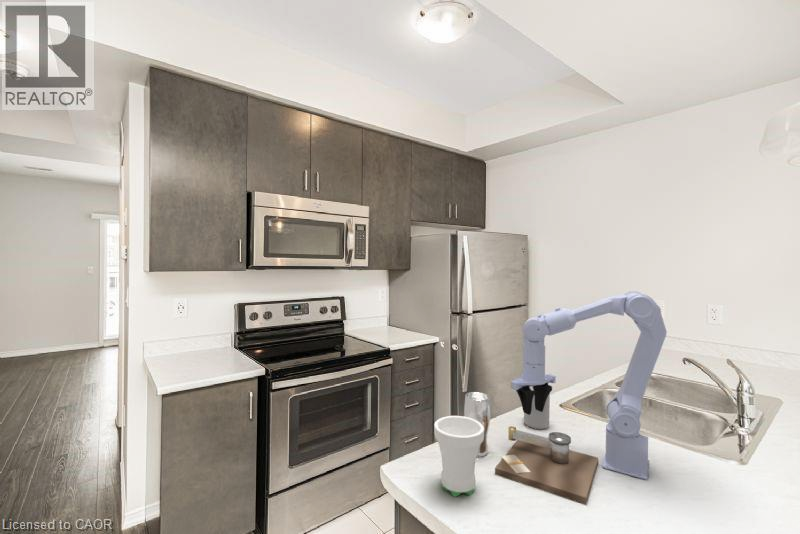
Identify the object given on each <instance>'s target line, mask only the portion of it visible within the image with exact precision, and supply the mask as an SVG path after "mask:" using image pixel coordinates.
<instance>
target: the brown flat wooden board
mask: <svg viewBox="0 0 800 534" xmlns="http://www.w3.org/2000/svg"><path fill="white" fill-rule="evenodd" d="M500 458H501V460H500V461H499V462H498V464H497V465H496V467H495V468H494V475H496V476H500V477H502V478H506V479H508V480H512V481H515V482H517V483H520V484H523V485H526V486H530V487H532V488H535V489H538V490H541V491H544V492H546V493H550V494H553V495H556V496H558V497H562V498H565V499H567V500H571V501H573V502H576V503H579V504H583V505H585V506H587V503H588V500H589V496H590V493H591V490H592V487H593V486H592V485H593V483H594V479H595V476H596V472H597V469H598V465H599V457H598V456H594V455H591V454H587V453H583V452H579V451H576V450H571V449H569V462H568V463H557V462H555V461H553V460H551V458H550V449H549V448H545V447H542V446H538V445H534V444H531V443H527V442H523V441H520V440H515V442H514V444H512V446H511V447H510V448H509V449H508V451H507V452H506V454H505V455H501V456H500Z"/></svg>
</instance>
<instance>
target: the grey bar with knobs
mask: <svg viewBox="0 0 800 534" xmlns="http://www.w3.org/2000/svg"><path fill="white" fill-rule="evenodd" d="M507 433H508V434H507V435H508V440H509V441H511V442H514V441H515V442H516V441H517V440H520V441H523V442H527V443H531V444H534V445H538V446H542V447H545V448H549V449H550V458H551V460H553V461H555V462H557V463H568V462H569V450H570V444H571V443H572V437H571V436H570V435H569V434H567V433H564V432H558V431H553V432H550V433H548V437H546V436H541V435H538V434H534V433H529V432H527V431H523V430H518V429H517V428H516V427H515V426H513V425H512V426H508V432H507Z"/></svg>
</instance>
